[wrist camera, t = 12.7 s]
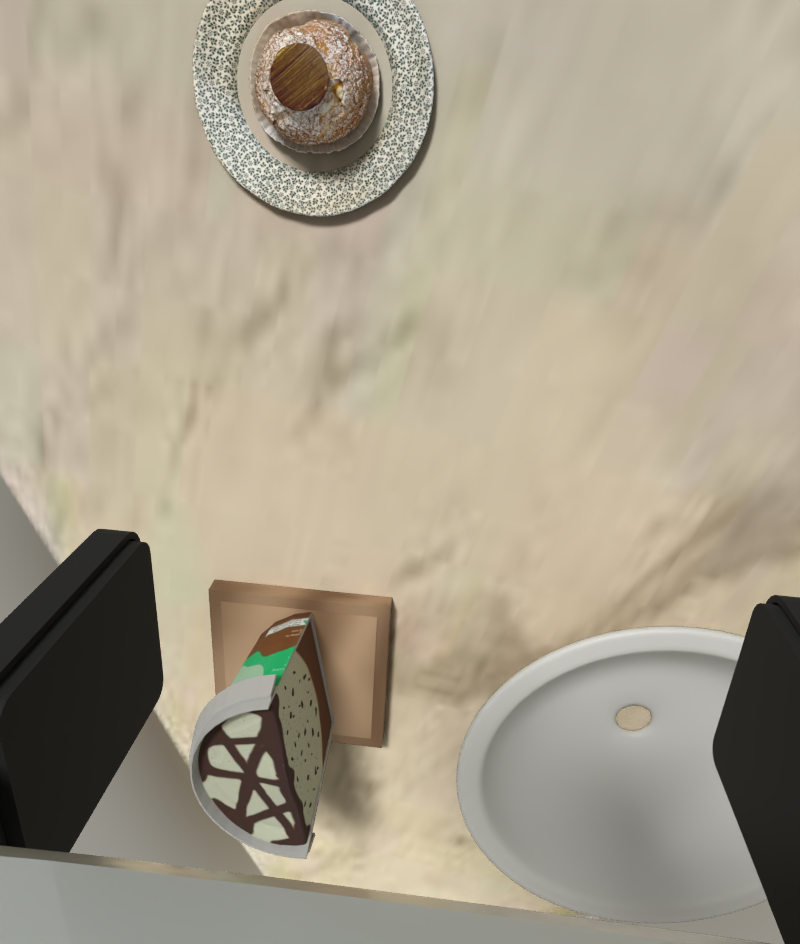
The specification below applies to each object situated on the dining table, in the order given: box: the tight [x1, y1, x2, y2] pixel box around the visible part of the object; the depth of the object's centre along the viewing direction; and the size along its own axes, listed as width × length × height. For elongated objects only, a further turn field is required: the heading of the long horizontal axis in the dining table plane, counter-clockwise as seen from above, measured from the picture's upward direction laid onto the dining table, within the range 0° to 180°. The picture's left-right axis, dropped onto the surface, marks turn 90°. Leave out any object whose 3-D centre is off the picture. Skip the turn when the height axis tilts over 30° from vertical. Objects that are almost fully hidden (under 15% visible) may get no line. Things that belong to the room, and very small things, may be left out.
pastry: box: [192, 0, 434, 217], centre depth 34 cm, size 12×12×5 cm
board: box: [209, 580, 392, 748], centre depth 49 cm, size 12×12×1 cm
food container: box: [189, 612, 335, 859], centre depth 44 cm, size 12×6×10 cm, turn 7°
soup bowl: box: [456, 626, 767, 923], centre depth 46 cm, size 24×24×7 cm
